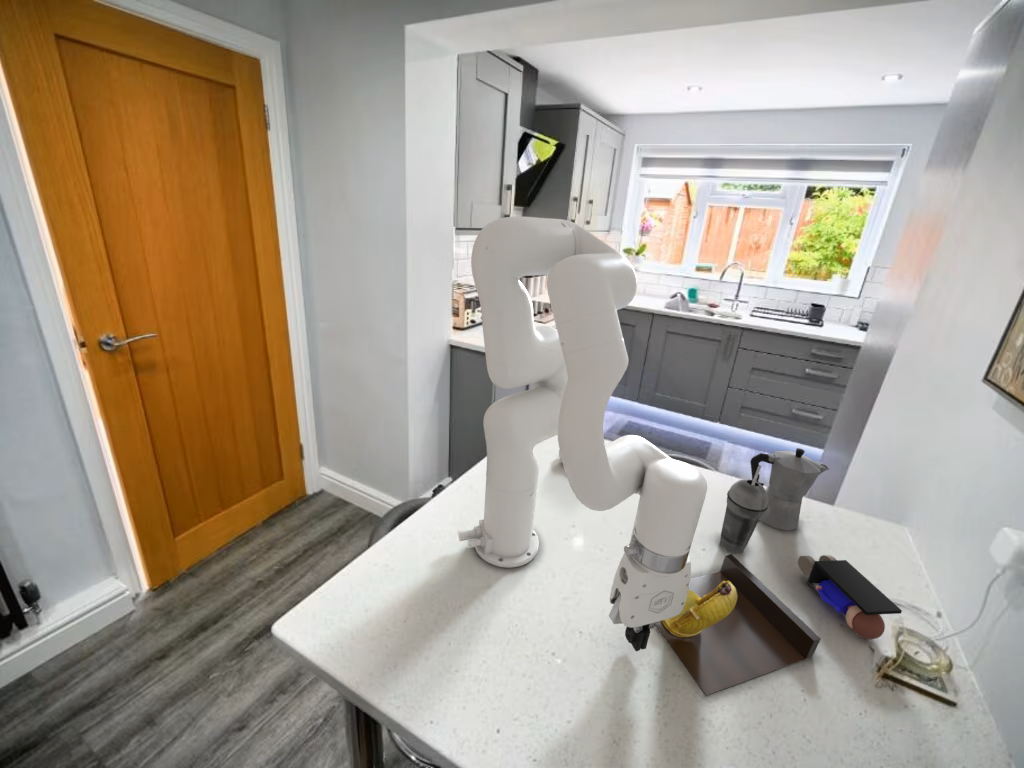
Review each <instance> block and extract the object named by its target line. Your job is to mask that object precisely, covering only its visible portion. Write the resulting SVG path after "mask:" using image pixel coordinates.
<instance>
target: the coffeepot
mask: <svg viewBox="0 0 1024 768" xmlns="http://www.w3.org/2000/svg"><path fill="white" fill-rule="evenodd" d="M805 452H806V450H804V449H803V448H800V447H799V448H796V449H795V451H791V450H787V449H786V450H773V454H772V453H763V452H760V453H758V454H756V455H755V456H753V457H751V459H750V471H751V480H753V479H754V476H755V474H756V471H757V468H758V466H759V465H760V463H762V462H763V463H767V464H770V465H771V470H770V474H769V481H768V485H767V486H766V488H765V490H766V492H767V495H768V508H767V510H765V512H764V514H763V515H762V517H761V518H760V520H759V521H761V522H762V523H764V524H766V525H767V526H768V527H771V528H773V529H777V530H780V531H794V530H798V528H799V522H800V521H799V520H800V514H801V508H802V502H803V498H804V497H805V496H807V494H808V492H809V491H810V490H811V488H812V487H813V485H814V484H815V482H816V480H817V479H818V477H819V476H820V475H821V474H823V473H825V472H826V471H830V468H829V467H828V466H827V465H826V464H825V463H824V464H823V463H822V462H819V461H816V460H813V458H810V457H808V456H807V455H805ZM759 479H760V473H759V474H758V477H757V480H756V482H758V483H759V484H761V485H762V486H763V487H764V485H765V483H764V482H760V481H759Z"/></svg>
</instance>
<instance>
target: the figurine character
mask: <svg viewBox="0 0 1024 768" xmlns="http://www.w3.org/2000/svg"><path fill="white" fill-rule="evenodd" d="M797 564H798V565H797V566H798V568H799V570H800V571H801V573H802V574H803V575H804V576H807V577H808V579H806V584H808V585H809V586H810V587H811V588H812V589H813V590H814V591H815V592H816V593H818V594H819V596H820V599H821V600H822V601H823V602H825V603H826V604H827V605H829V606H831V607H833V608H834V609H835V611H836V612H837V613H842V614H843V615H845V621H846V624H847V626H848V628H849V629H850V630H851V632H852V633H854V634H855V635H857V636H859V637H860V638H864V639H866V640H873V639H874V640H875V639H879V638H880V637H882V635H883V634H884V632H885V630H886V624H885V620H884V618H883V617H882V616H881V615H895V614H896V615H898V614H902V612H903V610H902V609H901V608H900V607H899V606H897V604H895V603H894V602H893V601H892V600H891V599H890V598H889V597H888V596H886V594H884V593H883V592H882V591H881V590H880V589H879V588H877V586H875V584H873V583H872V582H871V581H870V580H869V579H868V578H866V577H865V576H864V575H863V574H862V573H861V572H860V571H859V570H857V568H856V567H854V566H853V565H852V564H851V563H850V562H849V561H848V560H846V559H839V560H837V559H836V557H835V556H833V555H830V554H826V555H824V554H823V555H821V556H819V559H818V560H815V559H814V557H813V556H811V555H800V556H799V557H798V559H797ZM814 584H816V585H814Z"/></svg>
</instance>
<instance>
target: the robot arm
mask: <svg viewBox="0 0 1024 768" xmlns="http://www.w3.org/2000/svg"><path fill="white" fill-rule="evenodd" d="M470 259H471V261H470V264H471V265H470V266H471V274H472V278H473V283H474V286H475V290H476V293H477V296H478V301H479V306H480V311H481V312H480V313H481V325H482V336H483V345H484V354H485V362H486V363H485V364H486V369H487V374H488V377H489V379H490V381H491V382H492V384H493V385H494V386H495V387H497V388H499V389H504V390H511V389H517V388H521V387H524V386H528V385H532V388H530V389H527V390H521V391H518V392H515V393H513V394H510V395H507V396H504V397H501V398H500V399H497V400H496V401H495V402H493V403H492V404H491V405H490V406H489V407H488V408H487V409H486V411H485V412H484V416H483V420H482V421H483V423H482V424H483V433H484V438H485V446H486V447H485V448H486V472H485V491H484V492H485V495H484V510H483V518H482V519H479V520H478V525H475V526H474V528H471V529H461V530H458V532H457V536H458V540H459V542H464V541H465V542H466V541H467V548H468V549H473V548H474V549H475V551H476V553H477V555H478V556H479V557H480V558H481V559H482V560H483V561H485V562H486V563H488V564H490V565H492V566H496V567H499V568H507V569H508V568H517V567H518V568H519V567H521V566H524V565H527V564H528V563H530V562H531V561H532V560H534V558H535V557H536V556H537V554H538V551H539V547H540V539H539V537H538V534H537V533H536V531H535V530H534V519H535V512H536V504H537V503H536V501H537V496H538V495H537V494H538V486H539V485H538V484H539V474H540V467H539V466H540V465H539V462H538V460H537V458H536V456H535V455H534V451H533V450H534V448H535V447H536V446H537V445H538V444H540V443H542V442H544V441H546V440H549V439H551V438H553V437H556V436H557V443H558V450H560V454H561V458H562V462H561V463H562V465H563V469H564V473H565V476H566V479H567V482H568V484H569V487H570V489H571V491H572V493H573V495H574V496H575V497H576V499H577V500H578V502H580V504H581V505H583V506H584V507H586V508H587V509H589V510H592V511H596V512H604V511H608V510H611V509H613V508H615V507H617V506H618V505H620V504H621V503H622V502H625V500H628V499H629V498H630V497H631V496H633V495H634V494H635V495H639V500H638V505H637V509H636V514H635V519H634V524H633V527H632V532H631V536H630V541H629V544H628V545H624V547H623V552H624V553H623V554H622V557H621V559H620V561H619V563H618V566H617V569H616V571H615V574H614V578H613V581H612V585H611V589H610V595H609V603H610V604H611V605H612V607H611V610H610V612H609V614H608V618H609V619H610V621H611V622H612V624H613V625H620V624H623V626H625V632H624V636H625V639H626V640H627V642H628V643H629V644H630V645H631V646H632V648H633V649H634V651H635V652H639V651H641V650H646V649H647V646H648V642H649V638H650V635H651V630H652V629H654V628H656V627H657V626H656V624H657V622H658V621H661V620H665V619H668V618H672V617H675V616H677V615H679V614H680V613H681V612H682V611H683V608H684V606H685V602H686V598H687V594H688V589H689V583H690V579H691V575H692V573H691V572H692V565H691V564H692V563H691V557H690V551H691V548H692V543H693V541H694V537H695V534H696V530H697V527H698V524H699V520H700V517H701V513H702V510H703V507H704V503H705V499H706V497H707V491H708V484H707V480H706V478H705V476H704V475H703V473H702V472H701V471H700V470H698V469H697V468H696V467H694V466H692V465H691V464H689V463H687V462H684V461H681V460H677V459H673V458H672V457H670V456H669V455H668V454H667V453H665V452H664V451H663V450H661V449H660V448H659V447H657V446H656V445H654V444H653V443H651V442H650V441H649V440H647V439H646V438H644V437H641V436H640V435H635V434H625V435H622V436H620V437H618V438H616V439H614V440H612V441H611V442H608V443H605V438H604V437H605V436H604V419H605V413H606V410H607V406H608V403H609V401H610V399H611V397H612V395H613V393H614V391H615V389H616V388H617V387H618V385H619V383H620V381H621V380H622V378H623V377H624V374H625V373H626V371H627V370H628V366H629V362H630V361H629V355H628V351H627V347H626V344H625V339H624V336H623V331H622V326H621V323H620V319H619V314H618V311H619V310H621V309H624V308H626V307H627V306H629V304H630V303H631V302H632V301H633V300H634V298H635V296H636V293H637V288H638V277H637V274H636V271H635V268H634V267H633V265H632V264H631V262H630V261H629V260H628V259H627V258H626V257H625V256H624V255H623V254H622V253H620V252H619V251H617V250H616V249H615V248H613V247H612V246H610V245H609V244H608V243H606V242H604V241H603V240H602V239H600V238H598V237H597V236H596V235H594V234H592V233H591V232H589V231H588V230H587V229H585V228H584V227H582V226H581V225H579V224H577V223H576V222H573V221H571V220H567V219H562V218H552V217H551V218H550V217H548V218H547V217H537V216H536V217H535V216H518V215H517V216H506V217H501V218H497V219H494V220H492V221H490V222H488V223H487V224H486V225H484V227H483V228H481V229H480V231H479V232H478V234H477V236H476V237H475V240H474V243H473V245H472V250H471V258H470ZM545 275H546V276H547V278H546V279H547V280H546V288H547V295H548V298H549V303H550V307H551V311H552V315H553V319H554V324H555V327H553V326H550V325H539V326H535V319H534V306H533V301H532V299H531V296H530V294H529V292H528V290H527V289H526V287H525V285H524V284H523V283H522V282H521V280H520V279H521V278H523V277H531V276H545Z"/></svg>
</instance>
